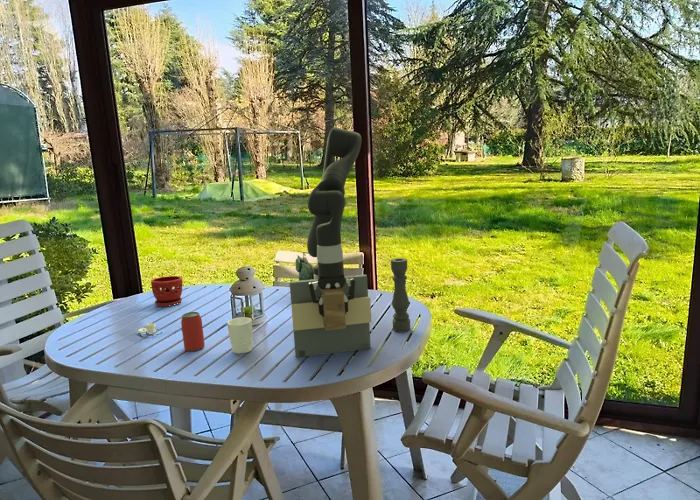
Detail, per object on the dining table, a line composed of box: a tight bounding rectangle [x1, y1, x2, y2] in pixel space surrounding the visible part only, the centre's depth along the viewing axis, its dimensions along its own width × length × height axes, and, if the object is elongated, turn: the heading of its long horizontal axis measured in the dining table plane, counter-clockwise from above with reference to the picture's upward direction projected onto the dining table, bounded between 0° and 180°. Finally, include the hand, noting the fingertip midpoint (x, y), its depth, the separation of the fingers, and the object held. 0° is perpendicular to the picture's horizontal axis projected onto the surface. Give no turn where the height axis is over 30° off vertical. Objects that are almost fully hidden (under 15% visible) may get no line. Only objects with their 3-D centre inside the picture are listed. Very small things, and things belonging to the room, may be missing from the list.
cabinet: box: [321, 287, 346, 330], centre depth 145 cm, size 10×6×12 cm, turn 9°
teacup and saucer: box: [137, 322, 157, 334], centre depth 183 cm, size 9×8×4 cm
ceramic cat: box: [295, 252, 315, 281], centre depth 219 cm, size 20×6×20 cm, turn 23°
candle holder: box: [390, 257, 411, 333], centre depth 170 cm, size 6×6×25 cm
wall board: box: [289, 274, 372, 358], centre depth 154 cm, size 12×24×24 cm, turn 99°
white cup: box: [226, 316, 254, 355], centre depth 161 cm, size 8×8×10 cm
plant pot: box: [150, 275, 183, 307], centre depth 220 cm, size 13×13×12 cm
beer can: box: [180, 311, 205, 352], centre depth 164 cm, size 7×7×12 cm
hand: (333, 314), depth 145 cm, fingers closed on cabinet, 6 cm apart
